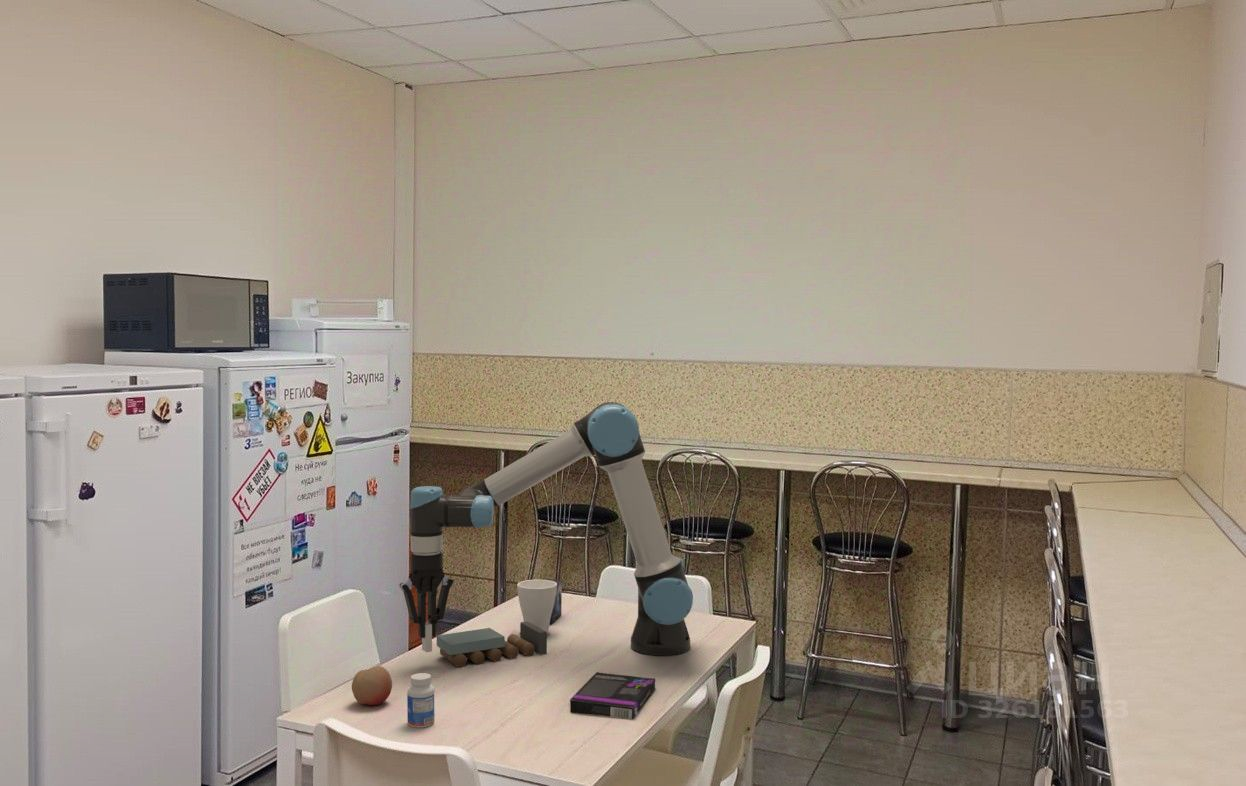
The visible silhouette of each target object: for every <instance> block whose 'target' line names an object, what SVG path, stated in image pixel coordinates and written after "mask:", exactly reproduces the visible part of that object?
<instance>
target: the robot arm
mask: <svg viewBox="0 0 1246 786" xmlns="http://www.w3.org/2000/svg"><path fill="white" fill-rule="evenodd" d="M639 426H640V425H639V423H638V420H637V417H636V416H635V415H634V413H633V412H632V411H631V410H630V409H629V408H627V407H626V406H624V404H621V403H618V402H614V401H613V402H612V401H609V402H604V403H601V404H599V405H597V406H596V407H595V408H593V409H592V410H591V411H590V412H588V413H587V414H586V415H585V416H583V417H582V418H580V419H578V420H576V421H575V422H573V423H572V425H571V428H570V429H569V430H568V431H565V432H564V433H562V434H561V435H559V436H557V437H555V438H554V439H551V440H550V441H549V442H547V443H545V444H543V445H542V446H540V447H538V448H536V449H535V450H533V451H531V452H530V453H528V454H526V455H524V456H523V457H521V458H519V459H517V460H516V461H514V462H512V463H510V464H509V465H507V466H505V467H504V468H502V469H500V470H498V471H497V472H495V473H493V474H492V475H490V476H488V477H486V478H485V479H483V480H482V481H479V482H478V483H476V484H474V485H471V486H468V487H467V488H465V489H464V490H463V491H462V492H461V493H460V494H459V495H446V494H444V491H443V488H442V487H441V486H434V485H432V486H431V485H423V486H417V487H415V488H413V489H411V491H410V505H409V513H410V514H409V517H410V518H409V521H410V523H409V524H410V528H409V529H410V551H411V552H412V553H411V554H410V573H409V576H408V579H407V580H406V581H405V582H400V583H399V589H401V591H402V592H403V596H404V599H405V603H406V607H407V611H408V615H409V620H410V621H411V622H413V623H414V624H417V625H418V627H417V629H418V630H417V634H418V637H419V639H421V650H422V651H423V652H425V653H431V652H433V637H436V634H437V633H436V631H437V629H436V627H437V626H436V625H437V624H438V621H440V620H443V619H444V617H445V616H444V615H445V613H446V612H445V611H446V607H447V602H448V597H449V594H450V589H451V588H452V586H453V584H454V579H452V578H450V577H448V576H446V575H445V572H444V570H443V567H444V565H443V563H444V560H443V559H444V558H443V557H444V555H443V552H442V551H443V549H444V546H443V544H444V542H443V541H444V539H443V536H444V535H443V531H444V530H443V528H476V529H479V528H487V527H491V526H492V525H493V523H494V515H495V514H494V512H495V511H494V510H495V509H496V508H498V507H499V506H501V505H503V504H504V503H506V502H507V501H509V500H511V499H513V498H514V497H516V496H518V495H520V494H522V493H523V492H525V491H527V490H528V489H530V488H532V487H534V486H535V485H537V484H539V483H541V482H543V481H544V480H546V479H548V478H550V477H552V476H554V475H555V474H556V473H558V472H560V471H561V470H563V469H565V468H567V467H569V466H570V465H571V466H572V464H574V463H576V462H577V461H579V460H581V459H582V458H584V457H590V458H592V457H594V456H595V459H596V462H597V464H598V467H599V468H600V469H602V470H604V471H606V472H607V475H608V478H609V481H610V485H611V488H612V490H613V494H614V496H615V499H616V503H617V506H618V509H619V513H620V514H621V515H620V516H621V518H622V521H623V524H624V527H625V531H626V534H627V537H628V539H629V543H630V547H631V549H632V551H633V555H634V558H635V561H636V564H637V566H636V569H635V570H634V572H633V575H634V579H635V582H636V585H637V619H636V621H635V625H634V627H633V631H632V634H631V635H630V649H632V650H633V651H635V652H637V653H640V654H643V655H649V656H674V655H679V654H684V653H686V652H688V651H689V650H690V649H691V637H690V634H689V630H688V628H687V625H686V622H685V619H686V618H687V616H688V615H689V614H690V612H691V610H692V608H693V604H694V602H693V601H694V594H693V591H692V589H691V587H690V586H689V584H688V580H687V577H686V574H685V570H686V567H685V562H684V560H683V558H681V557H677V556H675V555H674V554H672V551H671V548H670V545H669V542H668V538H667V536H666V533H665V528H664V527H663V524H662V521H661V517H660V514H659V510H658V508H657V504H656V501H655V499H654V498H655V497H654V496H653V492H652V489H651V485H650V482H649V479H648V477H647V474H646V470H645V467H644V464H643V461H642V459H643V458H644V457H645V454H646V449H645V447H644V443H643V441H642V437H641V434H640V430H639V429H640V427H639ZM440 584H441V586H440ZM412 585H413V587H414V588H415V589H416V594H417V598H416V599H417V607H416V604H415V599H414V596H413V592H412V588H413V587H412ZM439 586H440V591H439V596H438V600H437V595H438V588H439Z"/></svg>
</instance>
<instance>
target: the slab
mask: <svg viewBox="0 0 1246 786" xmlns="http://www.w3.org/2000/svg"><path fill="white" fill-rule="evenodd" d="M505 638H506V637H505V635H503V634H502V633H499V632H498V631H496V630H494V629H492V628H491V627H486V628H479V629H472V630H465V631H459V632H453V633H445V634H444V633H443V634H438V635H436V647H438V648H439V649H440V648H441V649H442V650H444V651H445V652H446V653H448V654H449V655H455V654H462V653H468V652H474V651H481V650H487V649H493V648H500V647H505V641H506V639H505Z"/></svg>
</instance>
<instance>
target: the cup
mask: <svg viewBox="0 0 1246 786" xmlns="http://www.w3.org/2000/svg"><path fill="white" fill-rule="evenodd" d="M516 586H517V596H518V603H519V607H520V611H521V614H522V619H523V622H529V623H531V624H533V625H535V626H537V627H539V628H541V629H543V630H545V631H546V632H547V636H548V635H549V632H550V631H549V629H550V625H549V623H550V619H551V614H552V610H553V607H554V602H555V597H556V590H557V583H556V582H554V581H550V580H541V579H527V580H522V581H519V582H518V583H517V585H516Z"/></svg>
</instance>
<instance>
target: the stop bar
mask: <svg viewBox="0 0 1246 786" xmlns="http://www.w3.org/2000/svg"><path fill="white" fill-rule="evenodd" d="M519 629H520V631H519V635H520V636H519V637H521V638H522V639H524V640H526V641H528V642H529V643H531V644H533V645H534V646H535V652H534V653H536V654H538V655H539V656H542V655H547V654H548V651H547V650H548V645H547V644H548V635H547V632H546V631H545V630H543V629H541V628H539V627H537V626H535V625H533V624H531V623H529V622H524V621H522V622H520V626H519Z"/></svg>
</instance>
